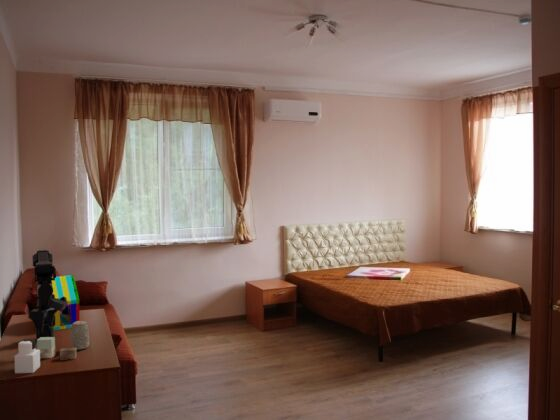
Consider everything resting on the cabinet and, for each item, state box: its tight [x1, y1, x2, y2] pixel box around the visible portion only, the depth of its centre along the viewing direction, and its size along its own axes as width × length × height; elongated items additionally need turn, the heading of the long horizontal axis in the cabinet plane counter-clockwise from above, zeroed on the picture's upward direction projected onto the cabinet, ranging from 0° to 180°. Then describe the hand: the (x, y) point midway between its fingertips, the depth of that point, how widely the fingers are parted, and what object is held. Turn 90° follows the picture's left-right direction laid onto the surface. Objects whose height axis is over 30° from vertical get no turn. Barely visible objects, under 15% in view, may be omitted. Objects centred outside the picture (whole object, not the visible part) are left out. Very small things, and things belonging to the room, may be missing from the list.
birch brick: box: [36, 346, 56, 359], centre depth 214 cm, size 6×4×4 cm, turn 91°
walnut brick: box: [59, 347, 78, 361], centre depth 213 cm, size 6×4×4 cm, turn 104°
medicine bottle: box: [13, 338, 41, 374], centre depth 199 cm, size 7×7×12 cm
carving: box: [70, 320, 90, 351], centre depth 224 cm, size 6×8×12 cm
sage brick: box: [36, 336, 56, 350], centre depth 214 cm, size 6×4×4 cm, turn 92°
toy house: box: [52, 274, 81, 332], centre depth 264 cm, size 24×14×25 cm, turn 34°
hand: (45, 329), depth 214 cm, fingers open, 9 cm apart
